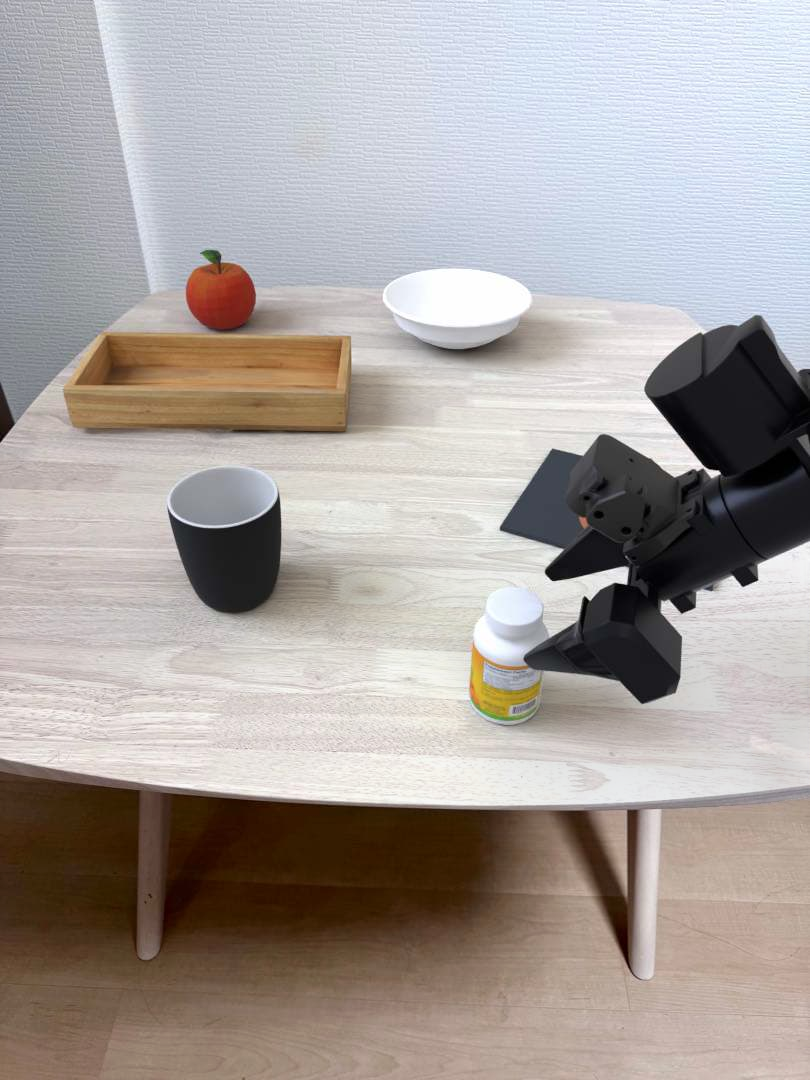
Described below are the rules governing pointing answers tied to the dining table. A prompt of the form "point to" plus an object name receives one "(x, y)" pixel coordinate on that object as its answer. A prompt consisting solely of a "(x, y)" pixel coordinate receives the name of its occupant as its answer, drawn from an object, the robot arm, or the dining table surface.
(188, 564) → the mug
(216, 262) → the fruit
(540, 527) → the placemat
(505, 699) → the supplement bottle
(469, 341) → the bowl
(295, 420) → the tray
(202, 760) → the dining table surface
